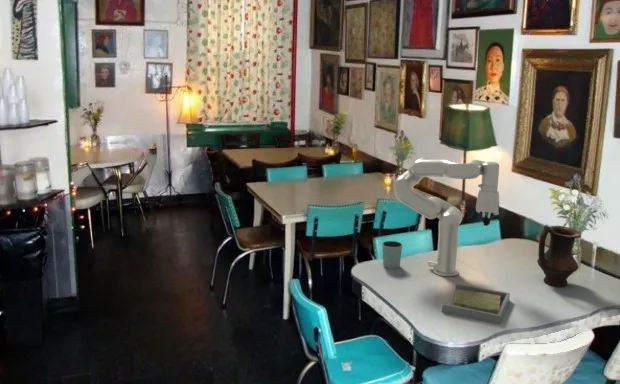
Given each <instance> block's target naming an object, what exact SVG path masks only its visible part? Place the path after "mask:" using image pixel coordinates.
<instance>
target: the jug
mask: <svg viewBox="0 0 620 384" xmlns="http://www.w3.org/2000/svg"><path fill="white" fill-rule="evenodd" d="M548 234H549V236H550V237H549V239H550V241H549V245H548V249H547V250H546V249H545V248H546V239H547V237H548ZM581 237H582V233H581V232H579V231H578V230H576V229H573V228H571V227H568V226H565V225H564V226H562V225H548V224H545V225H544V227H543V229H542V231H541V233H540V235H539V241H538V255H537V256H538V259H537V261H536V262H537V264H538V266H539V268H540V269H541V270H542V272H543V274H544V278H543V282H544V283H545V284H547V285H549V286H551V287H557V288H564V287H567V286H568V285H569V284H568V278H569V277H570V276H571V275H573V274H574V273H575V272H576V271H577V270H578V269H579V268H580V267H579V265H578V262H577V260H576V259H575V258H574V256H573V253H572V251H573V247H574V244H575V243H574V242H575V239H578V238H581ZM545 250H546V251H545Z"/></svg>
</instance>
